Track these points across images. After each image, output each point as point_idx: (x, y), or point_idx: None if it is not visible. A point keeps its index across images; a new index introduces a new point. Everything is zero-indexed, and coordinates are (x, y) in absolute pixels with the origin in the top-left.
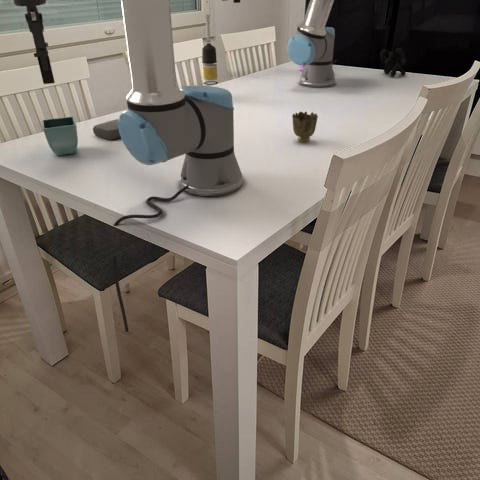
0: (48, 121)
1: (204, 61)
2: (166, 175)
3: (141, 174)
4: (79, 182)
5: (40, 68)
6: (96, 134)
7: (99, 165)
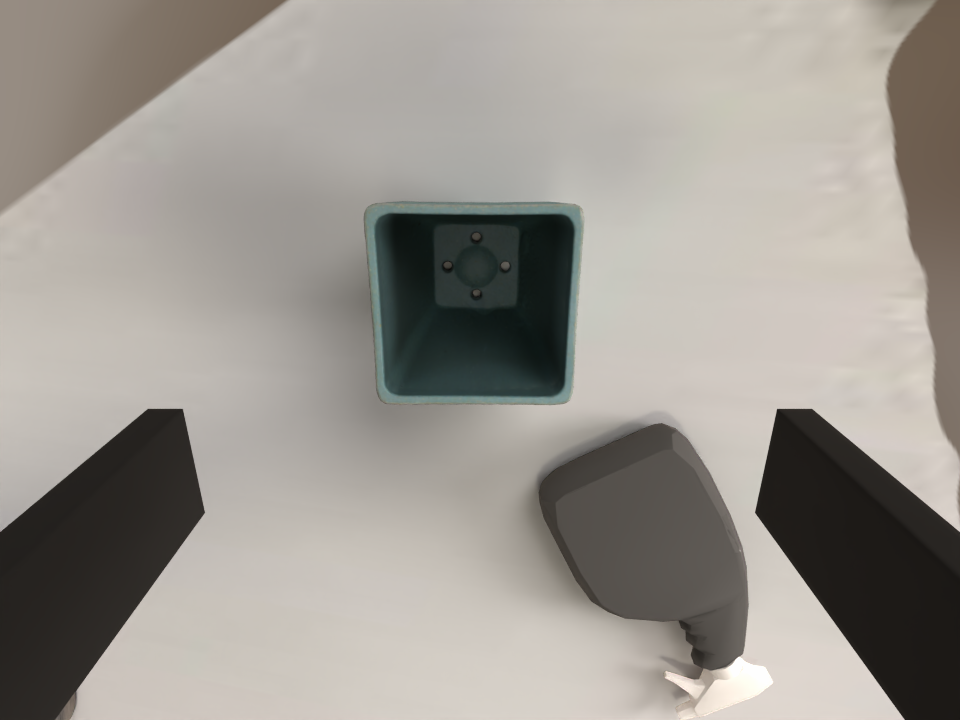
0: (571, 245)
1: None
2: None
3: None
4: (61, 293)
5: (17, 526)
6: (637, 432)
7: (240, 391)
